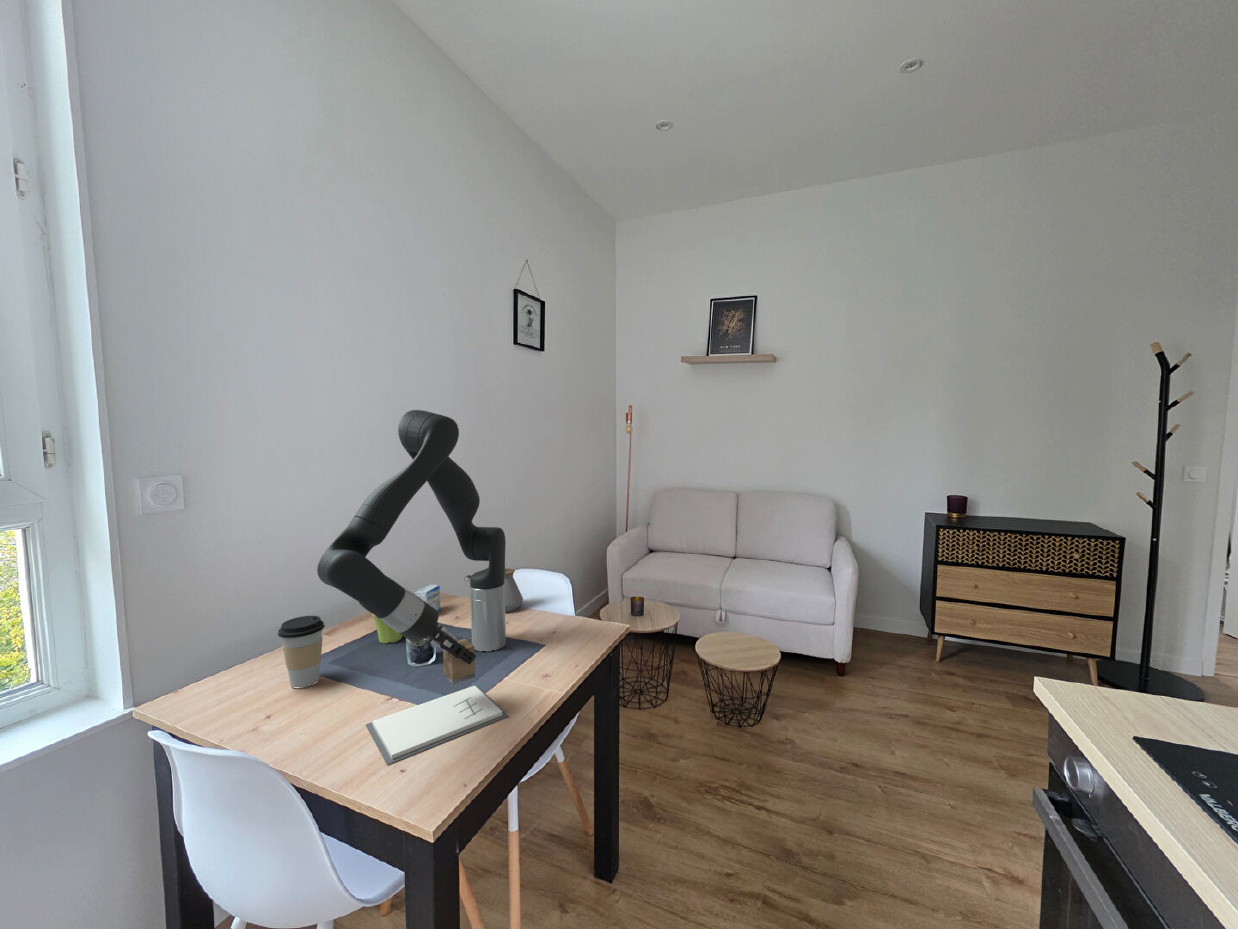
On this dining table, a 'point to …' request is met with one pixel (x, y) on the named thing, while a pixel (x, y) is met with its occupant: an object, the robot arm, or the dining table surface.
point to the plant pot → (386, 632)
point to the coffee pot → (510, 591)
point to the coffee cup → (302, 649)
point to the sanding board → (433, 723)
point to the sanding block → (458, 665)
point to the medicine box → (430, 595)
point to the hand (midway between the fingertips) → (467, 655)
